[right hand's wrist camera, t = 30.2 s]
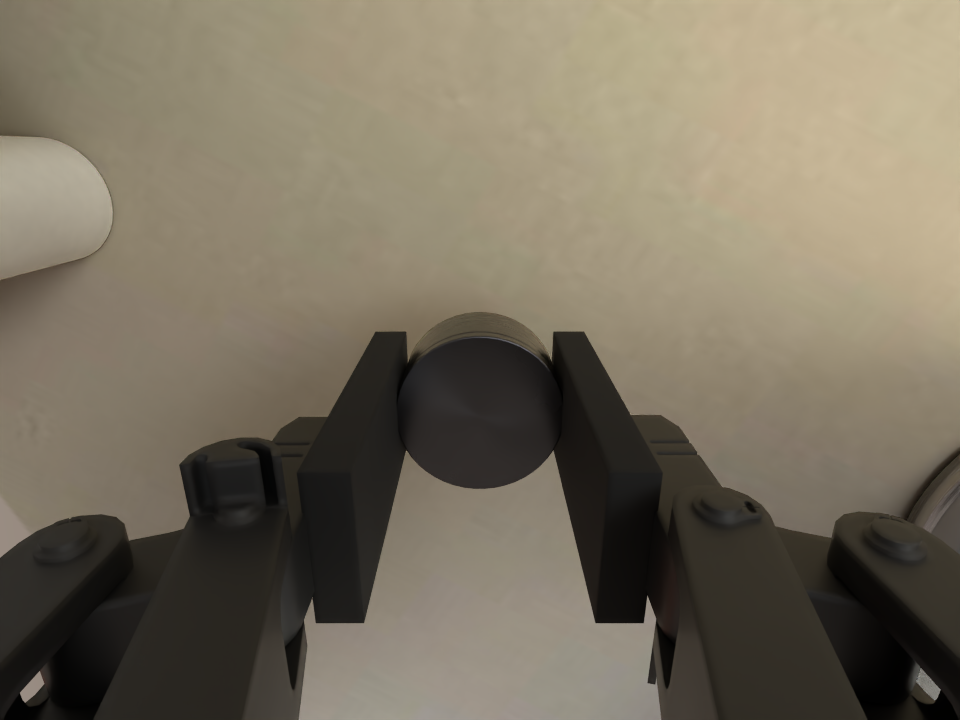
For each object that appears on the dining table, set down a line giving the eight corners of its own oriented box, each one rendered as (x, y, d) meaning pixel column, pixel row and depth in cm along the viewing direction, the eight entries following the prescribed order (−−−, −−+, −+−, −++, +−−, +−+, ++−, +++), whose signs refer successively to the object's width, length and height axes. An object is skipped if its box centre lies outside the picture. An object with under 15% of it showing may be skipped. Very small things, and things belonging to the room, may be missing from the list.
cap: (472, 474, 15) (471, 517, 14) (375, 376, 14) (359, 408, 13) (583, 390, 14) (599, 424, 13) (488, 280, 13) (489, 300, 12)
